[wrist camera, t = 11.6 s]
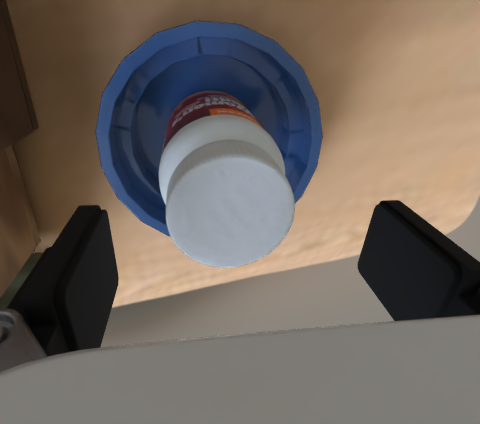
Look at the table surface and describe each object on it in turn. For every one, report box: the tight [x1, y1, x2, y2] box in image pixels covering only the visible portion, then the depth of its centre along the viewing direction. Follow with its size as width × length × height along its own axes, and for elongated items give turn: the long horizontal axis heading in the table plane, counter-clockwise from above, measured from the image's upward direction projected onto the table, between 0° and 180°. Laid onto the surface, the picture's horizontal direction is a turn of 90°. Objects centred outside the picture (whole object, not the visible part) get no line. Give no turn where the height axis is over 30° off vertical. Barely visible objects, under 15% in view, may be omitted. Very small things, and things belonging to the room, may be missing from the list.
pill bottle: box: [159, 90, 295, 268], centre depth 17 cm, size 6×6×11 cm
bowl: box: [96, 21, 323, 237], centre depth 20 cm, size 13×13×4 cm
